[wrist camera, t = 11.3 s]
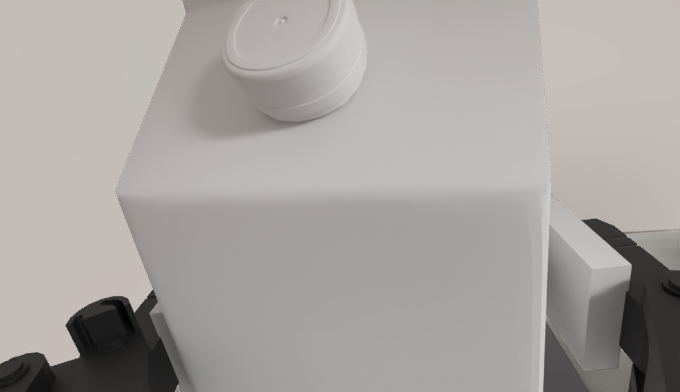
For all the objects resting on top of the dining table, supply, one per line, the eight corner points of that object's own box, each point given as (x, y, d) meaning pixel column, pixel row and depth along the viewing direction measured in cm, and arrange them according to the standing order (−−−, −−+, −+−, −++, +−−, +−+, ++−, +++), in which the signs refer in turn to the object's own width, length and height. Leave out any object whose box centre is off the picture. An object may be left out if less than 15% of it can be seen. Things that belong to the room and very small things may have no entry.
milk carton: (351, 426, 19) (255, -29, 12) (517, 460, 16) (520, -95, 9) (284, 626, 13) (7, -61, 6) (531, 727, 10) (570, -275, 3)
